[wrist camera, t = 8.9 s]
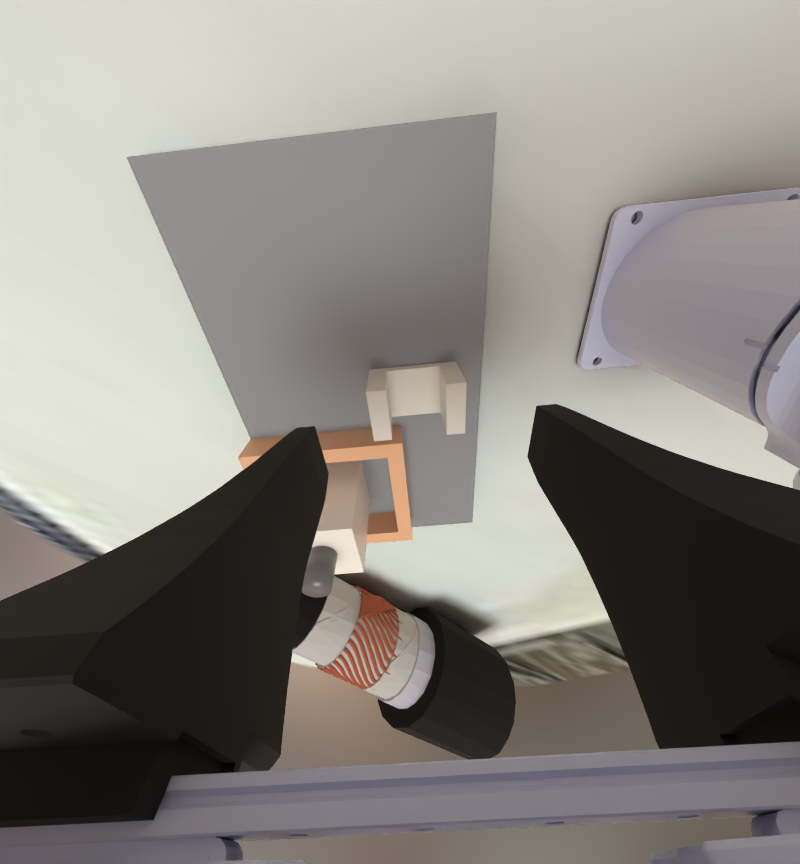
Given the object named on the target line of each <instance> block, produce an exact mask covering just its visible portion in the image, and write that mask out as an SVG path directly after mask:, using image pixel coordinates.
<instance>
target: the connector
mask: <svg viewBox="0 0 800 864" xmlns="http://www.w3.org/2000/svg"><path fill="white" fill-rule="evenodd" d="M326 466H327V469H328V473H329V476H328V484H327V492H326V498H325V503H324V506H323V510H322V514H321V517H320V521H319V524H318V528H317V531H316V535H315V538H314V542H313V545H312V549H311V552H310V556H309V559H308V563H307V567H306V572H305V576H304V581H303V587H302V593H303V594H305V595H307V596H310V597H317V598H318V597H325V596H327V595H329V594H330V593H331V591H332V585H333V579H334V574H347V573H360V572H364V564H365V552H366V540H367V528H368V516H369V504H370V497H369V493H368V488H367V483H366V478H365V473H364V469H363V464H362V460H358V461H346V462H335V463H326Z"/></svg>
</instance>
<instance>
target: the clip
mask: <svg viewBox="0 0 800 864" xmlns="http://www.w3.org/2000/svg"><path fill="white" fill-rule="evenodd" d="M466 387H467V382H466V380H465V378H464V376H463V374H462V372H461V371H460V369H459V367H458V365H457V363H456V361H454V362H444V363H433V364H423V365H412V366H402V367H392V368H381V369H371V370H369V376H368V382H367V387H366V397H367V402H368V408H369V414H370V420H371V426H372V432H373V438H374V441H384V440H392V417H397V416H408V415H419V414H430V413H441V416H442V420H443V423H444V427H445V431H446V434H447V435H451V434H463V433H465V419H466Z"/></svg>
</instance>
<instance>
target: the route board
mask: <svg viewBox="0 0 800 864" xmlns="http://www.w3.org/2000/svg"><path fill="white" fill-rule="evenodd" d="M496 114H497V112H495V113H487V114H479V115H470V116H462V117H454V118H446V119H437V120H429V121H421V122H413V123H404V124H396V125H388V126H380V127H371V128H363V129H355V130H347V131H338V132H330V133H322V134H314V135H305V136H297V137H289V138H280V139H272V140H264V141H256V142H247V143H239V144H231V145H223V146H214V147H206V148H198V149H190V150H181V151H173V152H165V153H157V154H148V155H140V156H132V157H127V159H128V161H129V164H130V166H131V168H132V171H133V173H134V175H135V177H136V180H137V182H138V184H139V186H140V189H141V191H142V193H143V195H144V198H145V200H146V202H147V205H148V207H149V209H150V211H151V214H152V216H153V218H154V220H155V223H156V225H157V227H158V229H159V232H160V234H161V236H162V239H163V241H164V243H165V245H166V248H167V250H168V252H169V254H170V257H171V259H172V261H173V263H174V266H175V268H176V270H177V273H178V275H179V277H180V279H181V282H182V284H183V286H184V288H185V291H186V293H187V295H188V298H189V300H190V302H191V304H192V307H193V309H194V311H195V313H196V316H197V318H198V320H199V322H200V325H201V327H202V329H203V332H204V334H205V336H206V338H207V341H208V343H209V345H210V347H211V350H212V352H213V354H214V356H215V359H216V361H217V363H218V366H219V368H220V370H221V372H222V375H223V377H224V379H225V381H226V384H227V386H228V388H229V390H230V393H231V395H232V397H233V400H234V402H235V404H236V406H237V409H238V411H239V413H240V415H241V418H242V420H243V422H244V424H245V427H246V429H247V431H248V434H249V436H250V438H251V439H257V438H269V437H280V436H286V435H287V434H289V433H290V432H291V431H293V430H294V429H296V428H299V427H310V426H315V428H316V431H317V433H324V432H335V431H346V430H358V429H369V428H372V426H371V420H370V414H369V408H368V402H367V397H366V387H367V382H368V376H369V370H371V369H381V368H392V367H402V366H412V365H423V364H433V363H444V362H454V361H456V363H457V365H458V367H459V369H460V371H461V372H462V374H463V376H464V378H465V380H466V382H467V387H466V419H465V433H463V434H451V435H447V434H446V431H445V427H444V423H443V420H442V416H441V413H430V414H419V415H408V416H397V417H392V426H401V427H402V436H403V446H404V455H405V465H406V474H407V484H408V493H409V503H410V512H411V524H412V527H419V526H432V525H444V524H457V523H469V522H472V518H473V501H474V484H475V467H476V450H477V434H478V417H479V400H480V383H481V366H482V349H483V333H484V316H485V299H486V282H487V265H488V248H489V232H490V215H491V198H492V181H493V164H494V148H495V131H496ZM362 464H363V469H364V473H365V478H366V483H367V488H368V493H369V497H370V504H369V514H373V513H385V512H395V506H394V499H393V493H392V486H391V479H390V472H389V465H388V458H381V459H369V460H362Z"/></svg>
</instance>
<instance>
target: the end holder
mask: <svg viewBox="0 0 800 864" xmlns="http://www.w3.org/2000/svg"><path fill="white" fill-rule="evenodd" d="M317 435H318V438H319V442H320V445H321V449H322V452H323V455H324V459H325V462H326V463H335V462H346V461H358V460H369V459H381V458H388V465H389V472H390V479H391V486H392V493H393V499H394V506H395V512H385V513H373V514H369V516H368V528H367V540H366V543H377V542H389V541H402V540H413V538H412V524H411V512H410V503H409V493H408V484H407V474H406V465H405V455H404V446H403V436H402V427H401V426H392V440H384V441H374V438H373V432H372V428H369V429H358V430H346V431H335V432H324V433H317ZM284 437H285V436H280V437H269V438H257V439H251V440H250V441H249V443H248V444H247V445H246V447H245V448H244V450H243V451H242V453H241V454H240V455H239V457H238V459H239V461H240V463H241V465H242V467H243V469H245V468H247V467H248V466H249V465H251V464H252V463H253V462H254V461H256V460H257V459H258V458H259V457H261V456H262V455H263V454H264V453H265V452H267V451H268V450H269V449H270V448H272V447H273V446H274V445H275V444H276V443H278V442H279V441H280V440H281V439H282V438H284Z"/></svg>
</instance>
